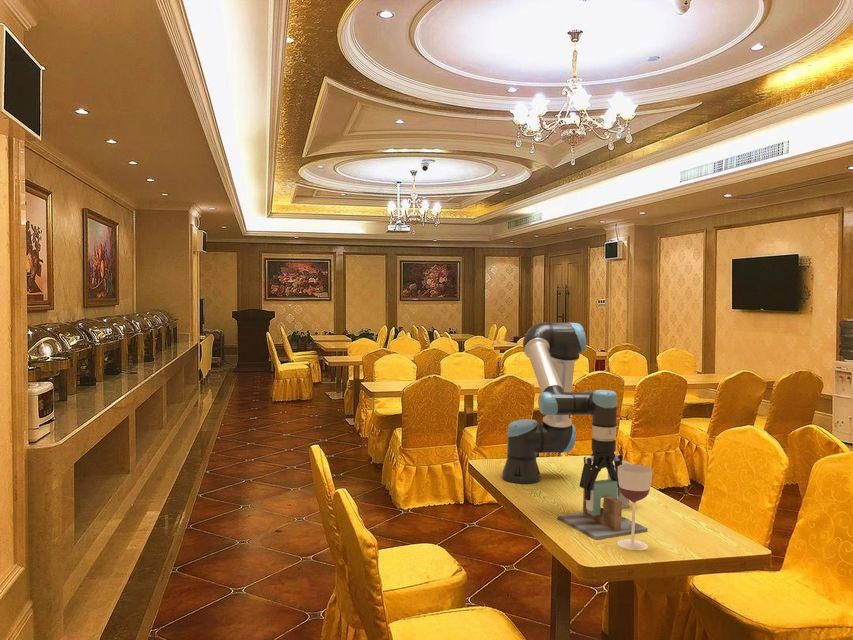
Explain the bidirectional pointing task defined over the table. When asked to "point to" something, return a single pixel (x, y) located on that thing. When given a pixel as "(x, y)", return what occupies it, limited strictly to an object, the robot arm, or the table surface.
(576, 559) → the table surface
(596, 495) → the green arch block
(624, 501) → the coffee cup
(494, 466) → the table surface
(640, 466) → the wineglass
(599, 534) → the joint base
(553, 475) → the table surface
